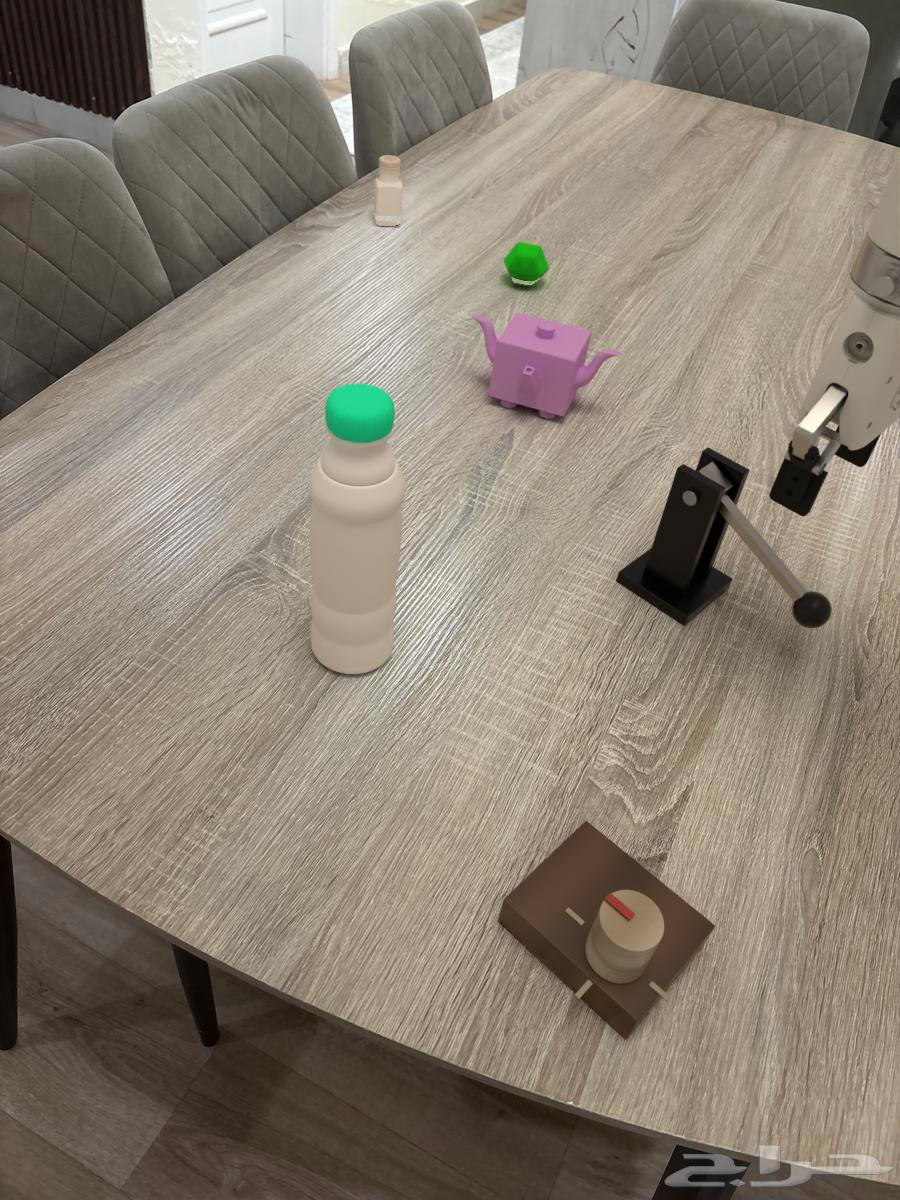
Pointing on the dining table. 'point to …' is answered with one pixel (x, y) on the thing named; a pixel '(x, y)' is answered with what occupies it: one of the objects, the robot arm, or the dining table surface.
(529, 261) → the green faceted polyhedron
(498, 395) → the teapot
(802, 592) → the faucet lever
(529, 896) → the tap panel
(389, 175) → the salt shaker
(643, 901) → the tap knob
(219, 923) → the dining table surface
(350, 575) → the water bottle
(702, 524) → the black lever stand
